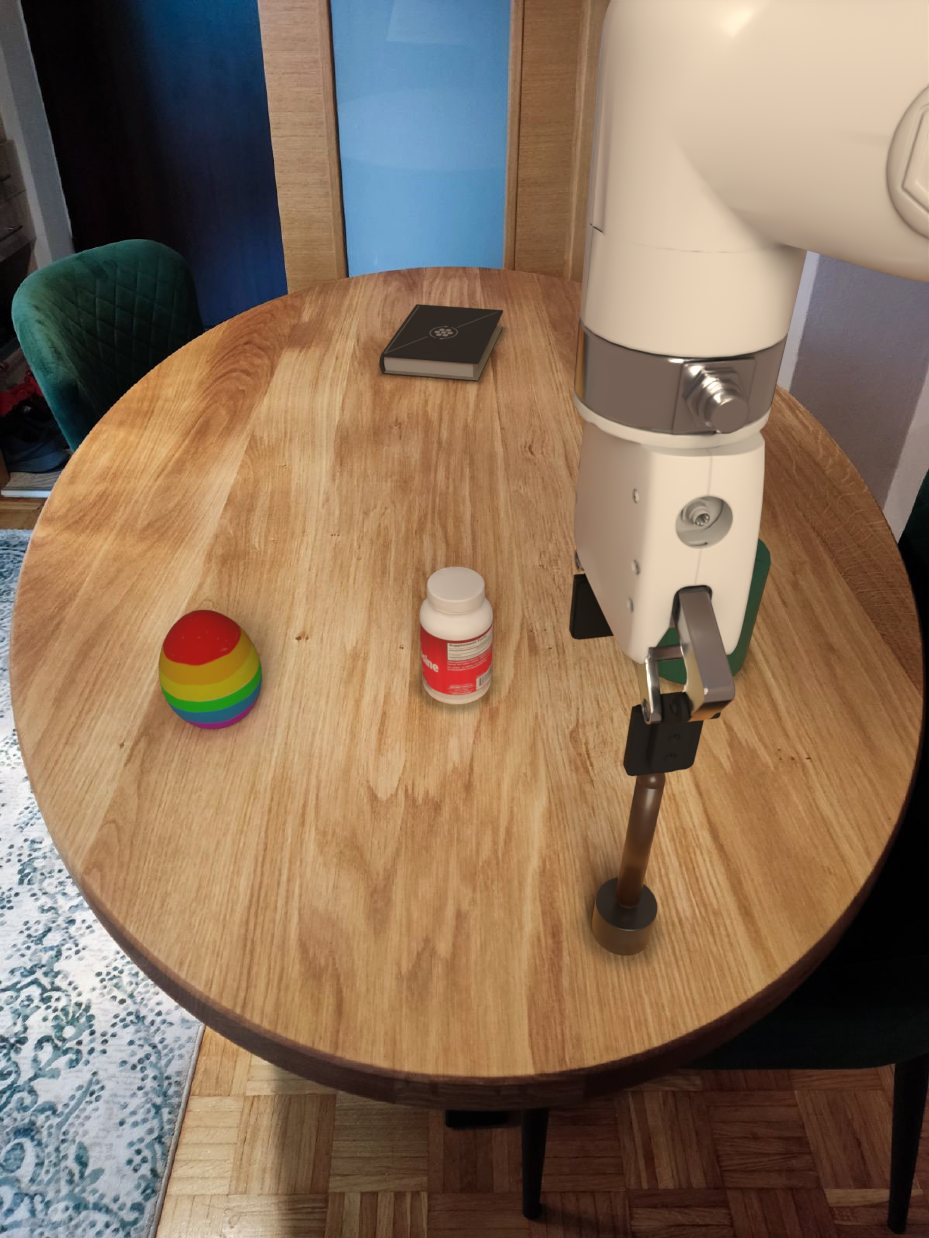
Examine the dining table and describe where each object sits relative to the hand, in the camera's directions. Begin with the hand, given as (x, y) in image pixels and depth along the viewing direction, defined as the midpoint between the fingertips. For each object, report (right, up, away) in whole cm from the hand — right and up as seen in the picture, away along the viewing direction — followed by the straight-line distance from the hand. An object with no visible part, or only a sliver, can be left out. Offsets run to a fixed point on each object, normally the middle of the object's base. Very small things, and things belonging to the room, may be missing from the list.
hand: (625, 695), depth 44 cm
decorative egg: (-29, -4, +32) cm, 43 cm away
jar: (+13, +1, +38) cm, 40 cm away
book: (-11, +46, +93) cm, 104 cm away
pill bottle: (-9, -2, +34) cm, 35 cm away
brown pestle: (+2, -17, +15) cm, 23 cm away
